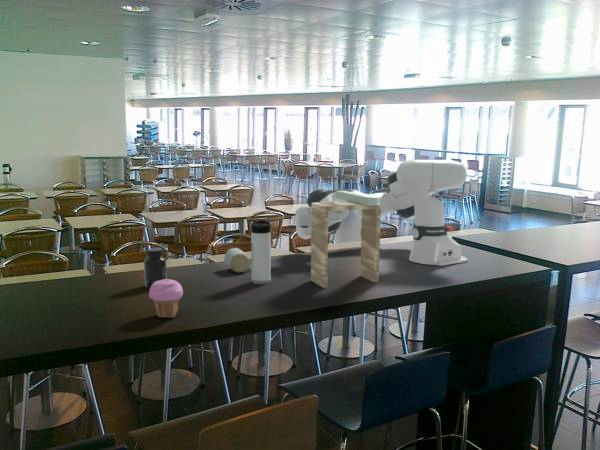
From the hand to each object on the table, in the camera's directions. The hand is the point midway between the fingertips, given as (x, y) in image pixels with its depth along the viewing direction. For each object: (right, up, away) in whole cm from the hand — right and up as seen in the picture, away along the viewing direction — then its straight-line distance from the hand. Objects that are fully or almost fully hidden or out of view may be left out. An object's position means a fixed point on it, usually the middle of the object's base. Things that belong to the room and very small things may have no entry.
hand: (329, 206), depth 203 cm
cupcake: (-46, -31, -56) cm, 79 cm away
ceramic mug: (-32, -23, -5) cm, 40 cm away
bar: (+7, +1, -19) cm, 21 cm away
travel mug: (-24, -26, -21) cm, 41 cm away
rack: (+4, -26, -20) cm, 33 cm away
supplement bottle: (-57, -27, -28) cm, 68 cm away
